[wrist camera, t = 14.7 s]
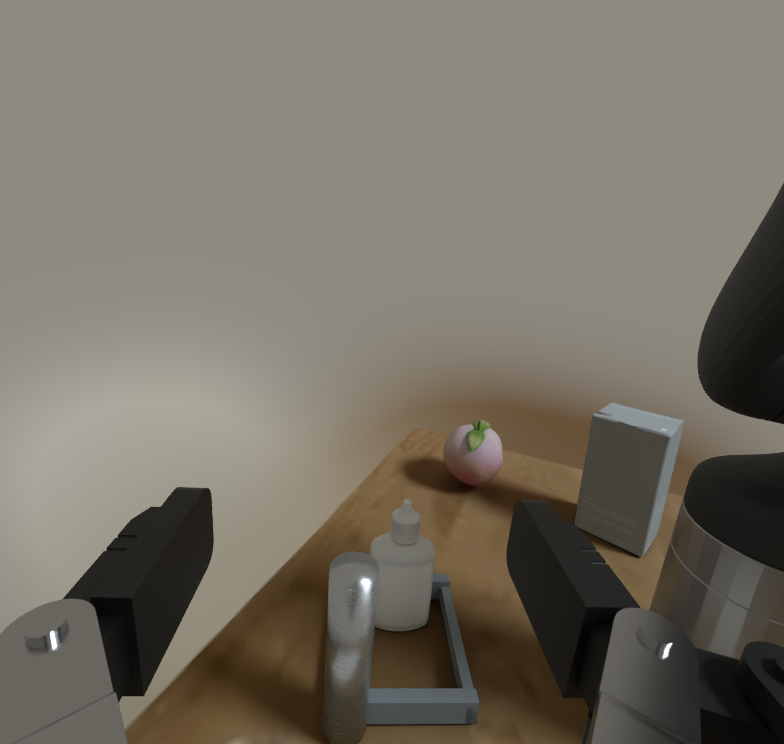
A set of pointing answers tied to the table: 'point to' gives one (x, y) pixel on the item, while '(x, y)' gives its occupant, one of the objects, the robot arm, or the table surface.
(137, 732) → the table surface
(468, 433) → the decorative fruit
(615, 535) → the skincare box
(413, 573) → the eye dropper bottle
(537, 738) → the table surface
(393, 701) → the pull frame
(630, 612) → the robot arm
